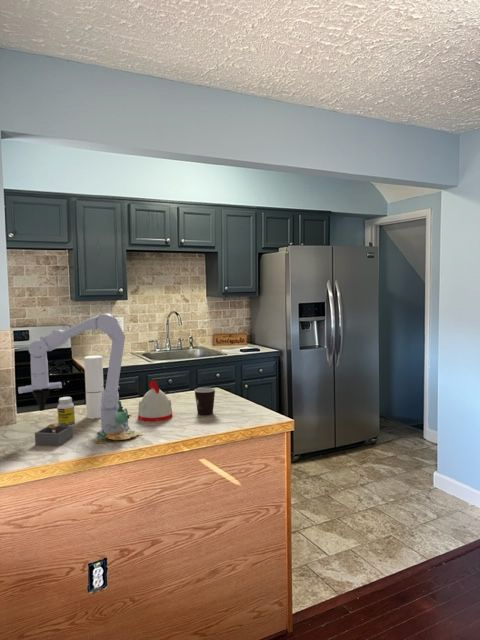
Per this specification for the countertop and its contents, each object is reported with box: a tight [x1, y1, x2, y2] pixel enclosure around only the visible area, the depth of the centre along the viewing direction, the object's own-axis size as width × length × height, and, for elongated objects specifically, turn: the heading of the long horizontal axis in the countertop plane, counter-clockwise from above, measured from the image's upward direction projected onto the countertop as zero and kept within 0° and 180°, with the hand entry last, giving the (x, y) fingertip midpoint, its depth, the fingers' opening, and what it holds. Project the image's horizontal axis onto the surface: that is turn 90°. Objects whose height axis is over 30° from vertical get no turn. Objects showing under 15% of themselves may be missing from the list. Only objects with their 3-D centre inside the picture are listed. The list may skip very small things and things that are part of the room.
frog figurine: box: [94, 400, 144, 445], centre depth 175 cm, size 10×18×15 cm, turn 115°
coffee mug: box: [194, 387, 216, 417], centre depth 206 cm, size 12×9×10 cm
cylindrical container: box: [83, 355, 105, 420], centre depth 202 cm, size 7×7×25 cm
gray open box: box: [34, 425, 74, 447], centre depth 173 cm, size 9×10×4 cm
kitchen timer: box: [137, 380, 173, 423], centre depth 201 cm, size 14×14×15 cm
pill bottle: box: [56, 396, 76, 427], centre depth 190 cm, size 6×6×11 cm
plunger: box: [47, 422, 59, 433], centre depth 172 cm, size 7×7×5 cm
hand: (41, 410), depth 177 cm, fingers closed
